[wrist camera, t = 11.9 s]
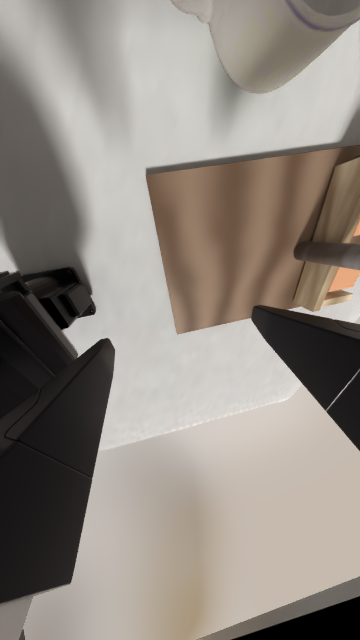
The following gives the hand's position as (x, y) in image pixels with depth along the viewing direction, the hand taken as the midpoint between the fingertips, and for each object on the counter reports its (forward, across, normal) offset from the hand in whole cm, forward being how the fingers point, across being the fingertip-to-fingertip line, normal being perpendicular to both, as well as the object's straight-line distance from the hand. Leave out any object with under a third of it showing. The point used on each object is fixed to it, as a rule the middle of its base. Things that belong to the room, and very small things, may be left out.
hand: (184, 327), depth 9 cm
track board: (+13, -16, 0) cm, 20 cm away
